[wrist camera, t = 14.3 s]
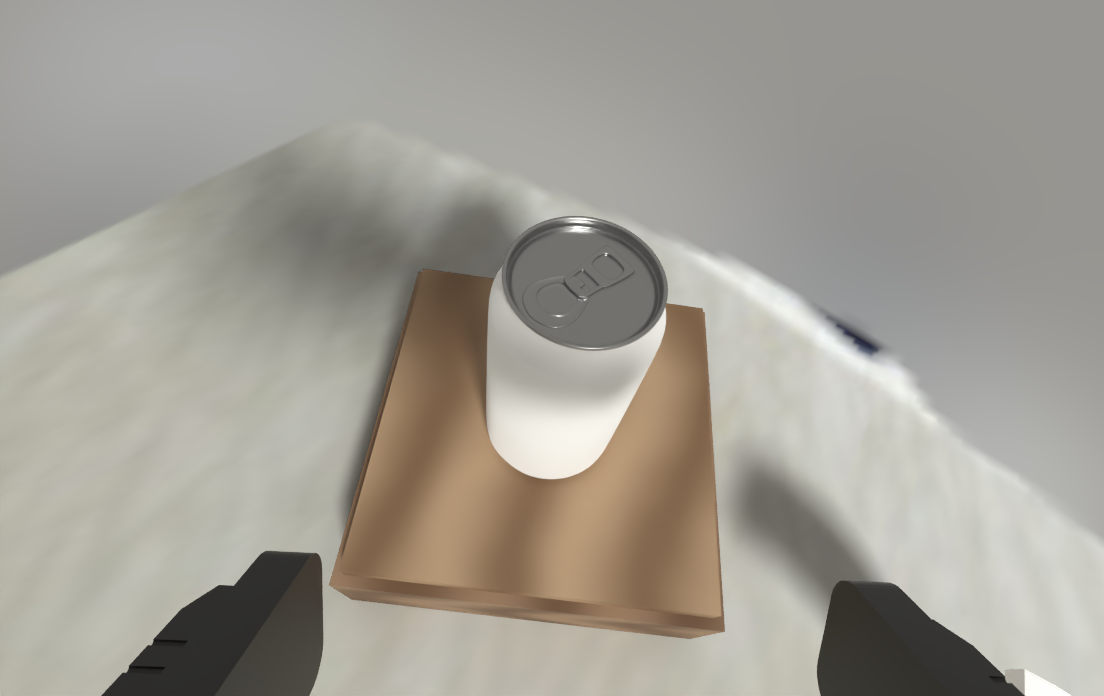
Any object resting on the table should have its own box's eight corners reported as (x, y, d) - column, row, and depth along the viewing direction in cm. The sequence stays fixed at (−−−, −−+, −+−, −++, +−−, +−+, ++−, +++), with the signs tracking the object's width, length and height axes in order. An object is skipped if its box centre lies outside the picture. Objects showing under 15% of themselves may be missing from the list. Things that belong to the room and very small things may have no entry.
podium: (351, 599, 29) (323, 581, 24) (425, 317, 38) (416, 261, 33) (689, 638, 29) (733, 629, 24) (680, 352, 39) (710, 303, 34)
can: (460, 411, 28) (448, 259, 18) (554, 346, 31) (590, 182, 21) (541, 510, 26) (579, 400, 16) (635, 431, 29) (719, 294, 19)
